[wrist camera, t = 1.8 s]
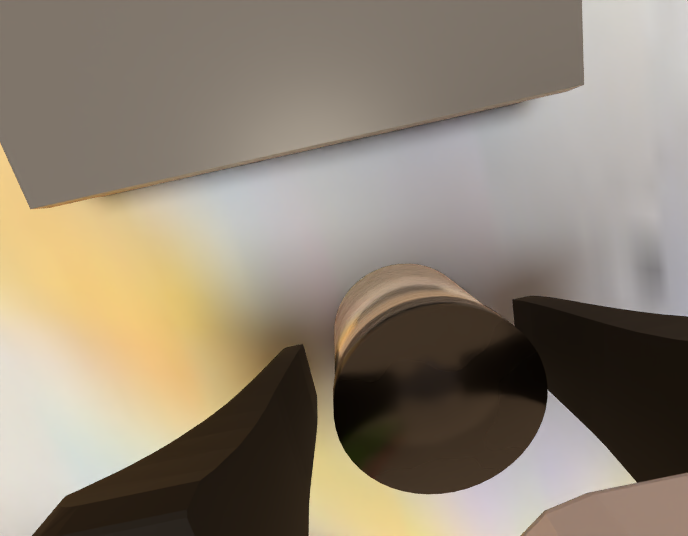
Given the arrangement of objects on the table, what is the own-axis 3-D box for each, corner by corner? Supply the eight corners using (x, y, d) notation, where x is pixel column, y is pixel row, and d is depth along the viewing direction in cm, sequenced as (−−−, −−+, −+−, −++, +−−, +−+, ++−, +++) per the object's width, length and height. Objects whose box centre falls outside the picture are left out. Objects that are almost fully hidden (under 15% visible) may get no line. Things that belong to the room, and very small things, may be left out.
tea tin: (462, 248, 12) (540, 284, 7) (478, 375, 13) (552, 471, 9) (318, 279, 12) (311, 333, 7) (348, 402, 13) (357, 511, 9)
